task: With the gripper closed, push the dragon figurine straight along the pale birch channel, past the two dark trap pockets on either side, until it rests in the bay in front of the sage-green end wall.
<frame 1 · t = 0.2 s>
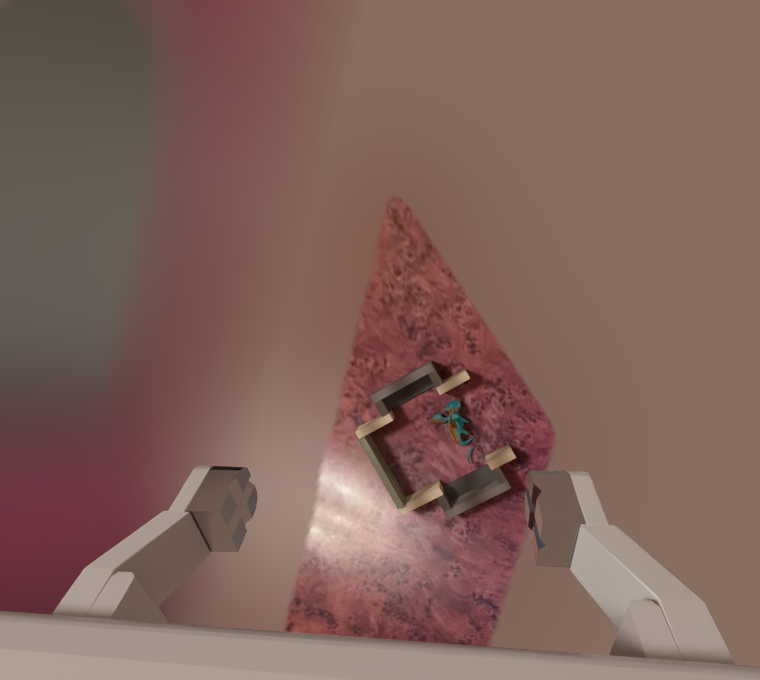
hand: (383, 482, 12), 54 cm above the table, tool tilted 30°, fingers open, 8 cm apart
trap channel: (431, 440, 67), on the table
dragon figurine: (456, 426, 67), on the table
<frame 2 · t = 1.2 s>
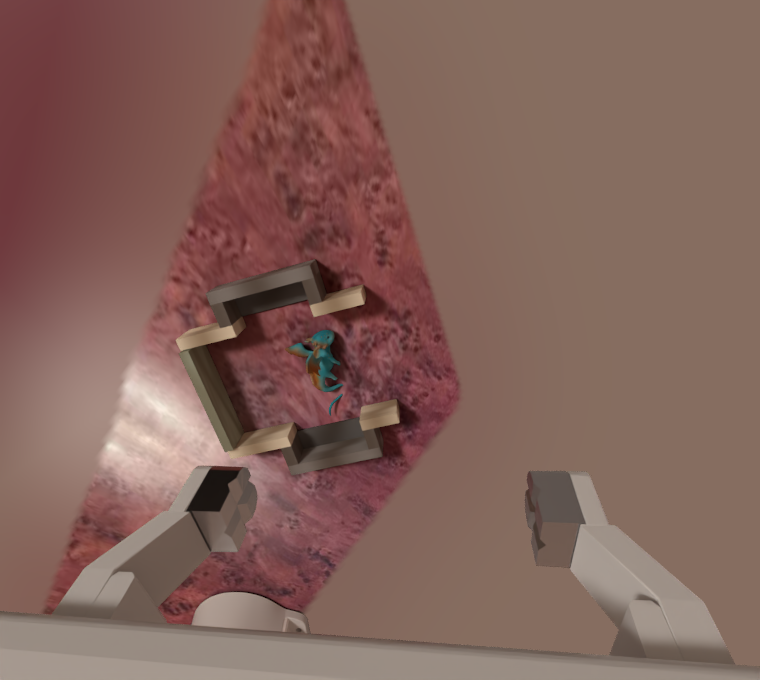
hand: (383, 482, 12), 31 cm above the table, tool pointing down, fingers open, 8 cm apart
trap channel: (292, 371, 46), on the table
dragon figurine: (324, 363, 46), on the table
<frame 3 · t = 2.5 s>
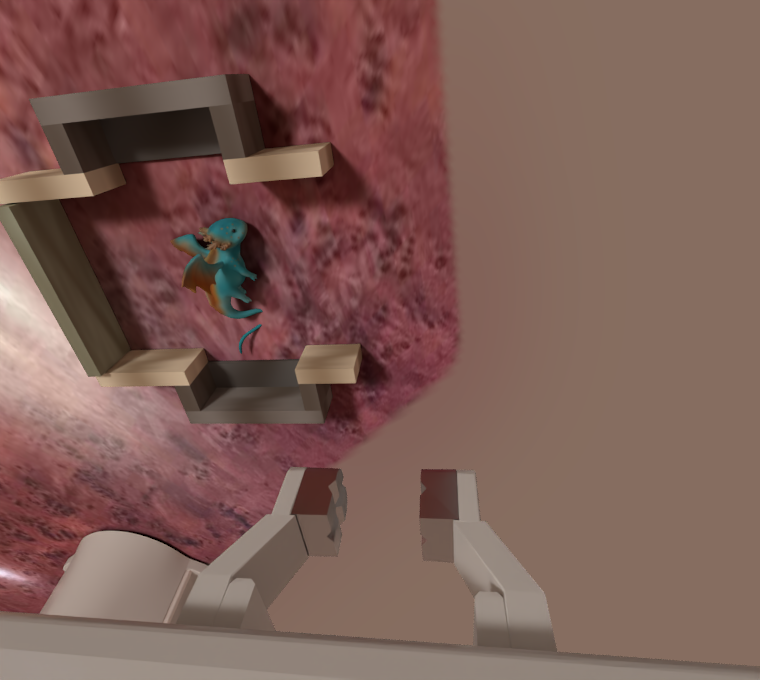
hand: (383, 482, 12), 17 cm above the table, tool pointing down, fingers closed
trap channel: (203, 272, 29), on the table
dragon figurine: (235, 273, 29), on the table
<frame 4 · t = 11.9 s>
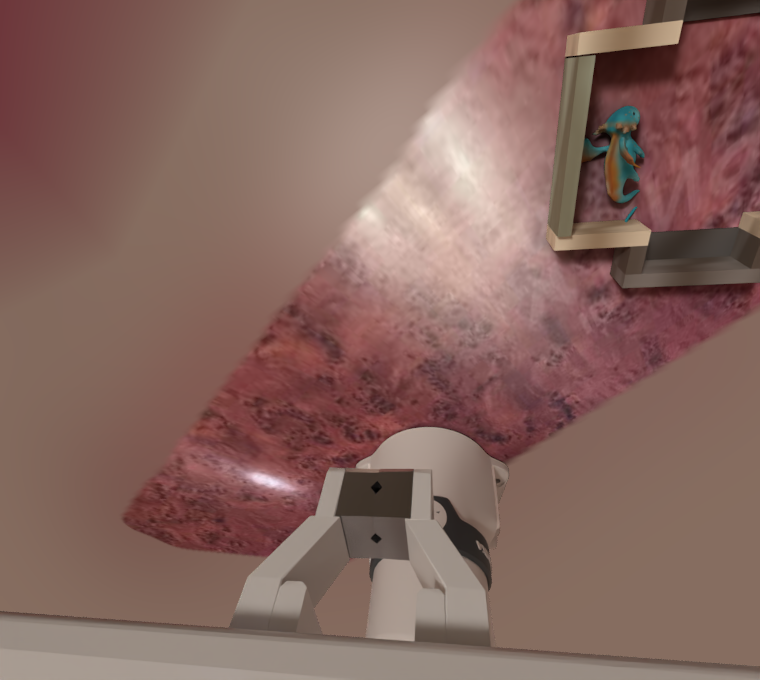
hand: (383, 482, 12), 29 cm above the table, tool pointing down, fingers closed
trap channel: (681, 137, 32), on the table
dragon figurine: (609, 166, 34), on the table
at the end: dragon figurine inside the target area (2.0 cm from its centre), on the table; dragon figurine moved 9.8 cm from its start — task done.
